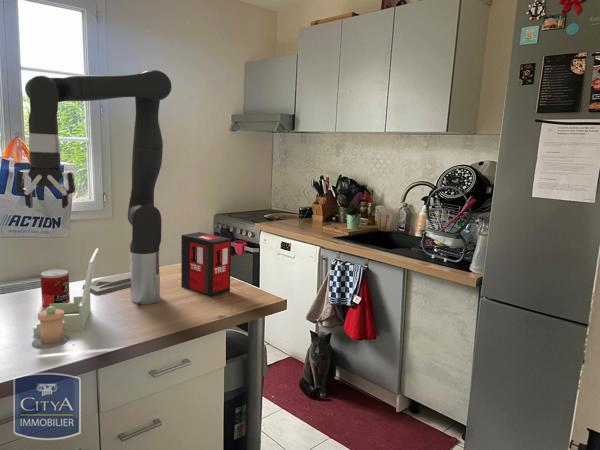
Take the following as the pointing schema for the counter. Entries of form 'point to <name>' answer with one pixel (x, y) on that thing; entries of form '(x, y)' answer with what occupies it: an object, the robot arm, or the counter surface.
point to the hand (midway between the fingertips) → (47, 207)
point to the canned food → (55, 287)
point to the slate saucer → (38, 344)
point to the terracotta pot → (51, 325)
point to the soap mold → (110, 284)
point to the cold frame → (71, 315)
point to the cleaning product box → (205, 263)
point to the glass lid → (89, 275)
